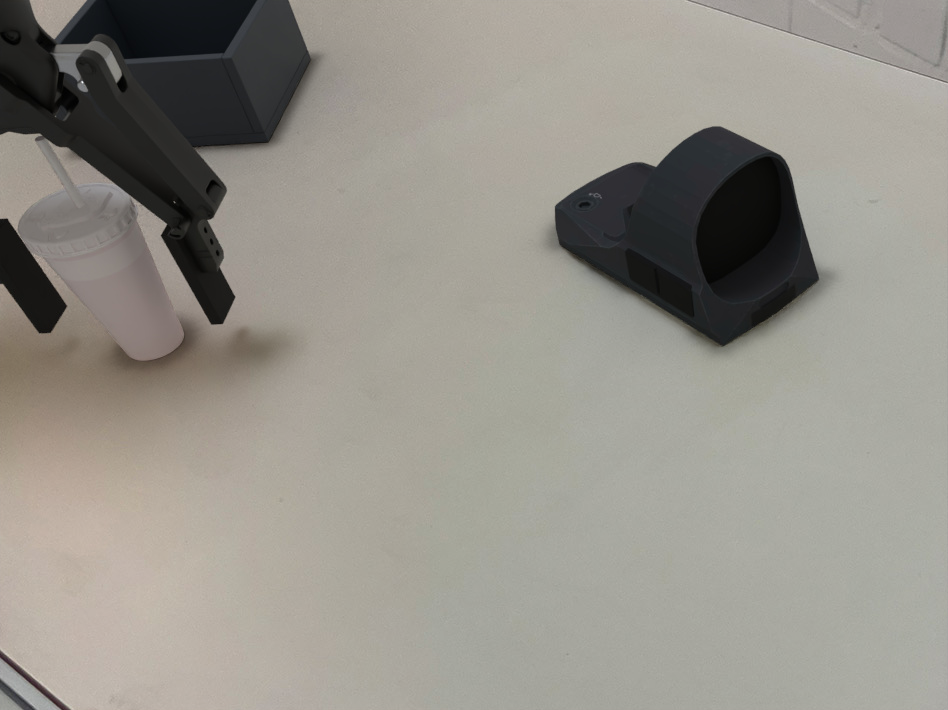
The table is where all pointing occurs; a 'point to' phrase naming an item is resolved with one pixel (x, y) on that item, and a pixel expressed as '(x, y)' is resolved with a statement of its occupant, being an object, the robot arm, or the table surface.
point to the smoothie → (103, 261)
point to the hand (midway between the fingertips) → (138, 315)
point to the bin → (203, 61)
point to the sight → (697, 232)
